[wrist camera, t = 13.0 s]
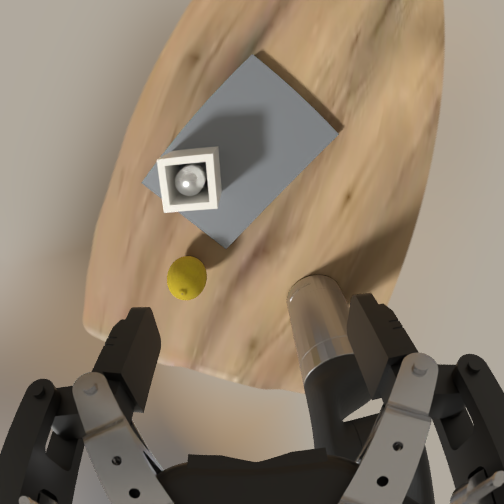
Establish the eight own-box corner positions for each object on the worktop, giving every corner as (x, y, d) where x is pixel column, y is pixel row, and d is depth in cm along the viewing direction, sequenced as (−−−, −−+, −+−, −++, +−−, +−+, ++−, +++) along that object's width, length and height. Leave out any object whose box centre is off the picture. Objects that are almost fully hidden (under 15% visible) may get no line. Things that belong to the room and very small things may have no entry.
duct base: (335, 133, 35) (338, 134, 34) (226, 244, 42) (226, 249, 41) (252, 56, 30) (252, 54, 29) (144, 180, 37) (141, 182, 36)
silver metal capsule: (214, 169, 36) (209, 180, 30) (198, 188, 37) (191, 201, 32) (195, 154, 35) (186, 161, 29) (180, 173, 36) (169, 184, 30)
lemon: (167, 267, 44) (154, 297, 37) (184, 240, 42) (173, 268, 35) (197, 284, 45) (190, 317, 38) (216, 259, 43) (211, 289, 36)
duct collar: (218, 146, 34) (213, 153, 28) (221, 191, 37) (217, 208, 31) (171, 151, 34) (156, 159, 28) (176, 195, 37) (164, 212, 31)
